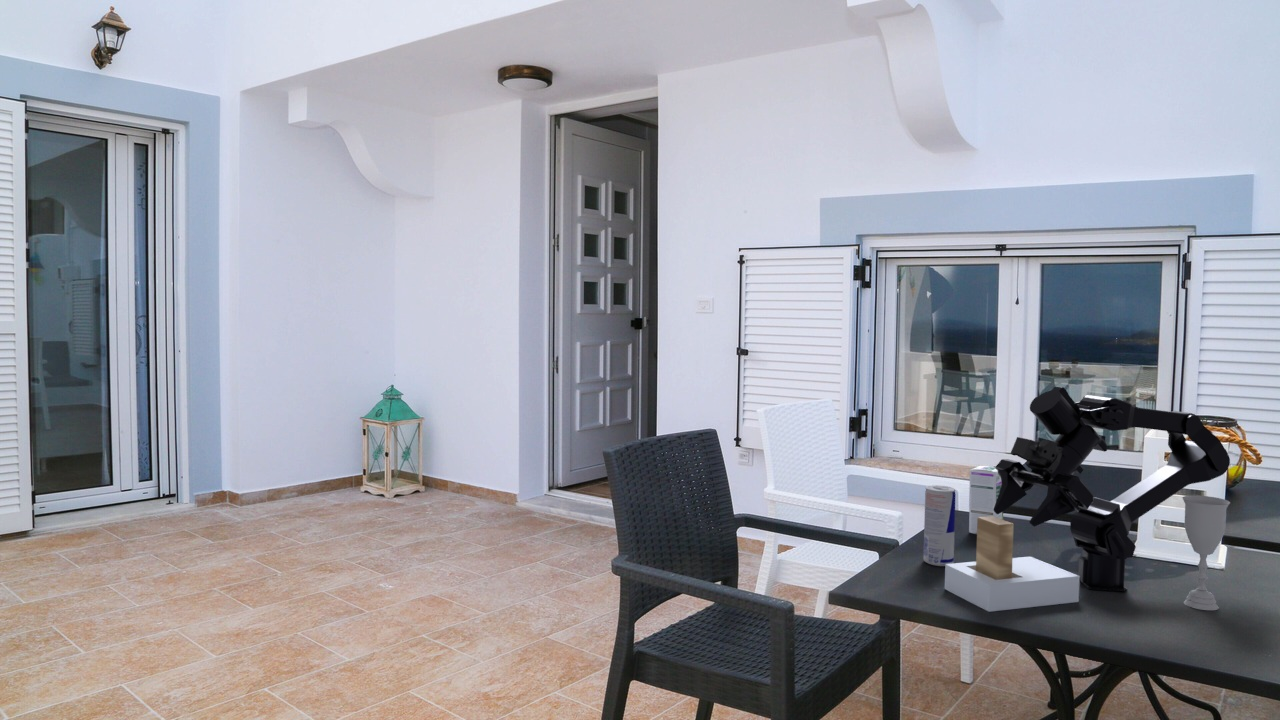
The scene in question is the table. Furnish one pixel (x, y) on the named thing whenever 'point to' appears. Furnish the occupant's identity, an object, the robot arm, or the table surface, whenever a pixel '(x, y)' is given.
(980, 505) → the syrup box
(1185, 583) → the table surface
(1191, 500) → the chalice
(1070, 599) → the box
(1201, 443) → the robot arm
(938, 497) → the beverage can
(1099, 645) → the table surface
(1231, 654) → the table surface
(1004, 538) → the plate
